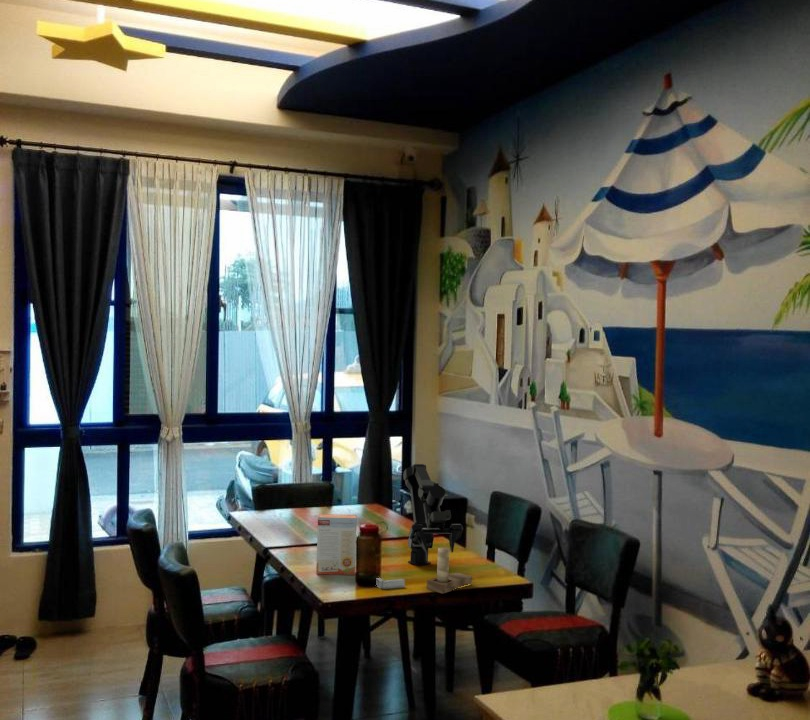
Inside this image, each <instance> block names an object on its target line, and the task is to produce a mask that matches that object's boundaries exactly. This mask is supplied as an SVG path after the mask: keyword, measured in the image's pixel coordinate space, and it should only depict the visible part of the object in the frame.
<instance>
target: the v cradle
mask: <svg viewBox="0 0 810 720" xmlns="http://www.w3.org/2000/svg"><path fill="white" fill-rule="evenodd" d="M405 583H406V580H405V579H404V578H398V579H386V580H384V579H382V578H381V577H379V578H376V585H377V586H376V585H375V586H376V587H377V588H379V589H381V590H382V589H383V590H388V589H389V590H390V589H400V588H401V589H402V588H405V585H406V584H405Z"/></svg>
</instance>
